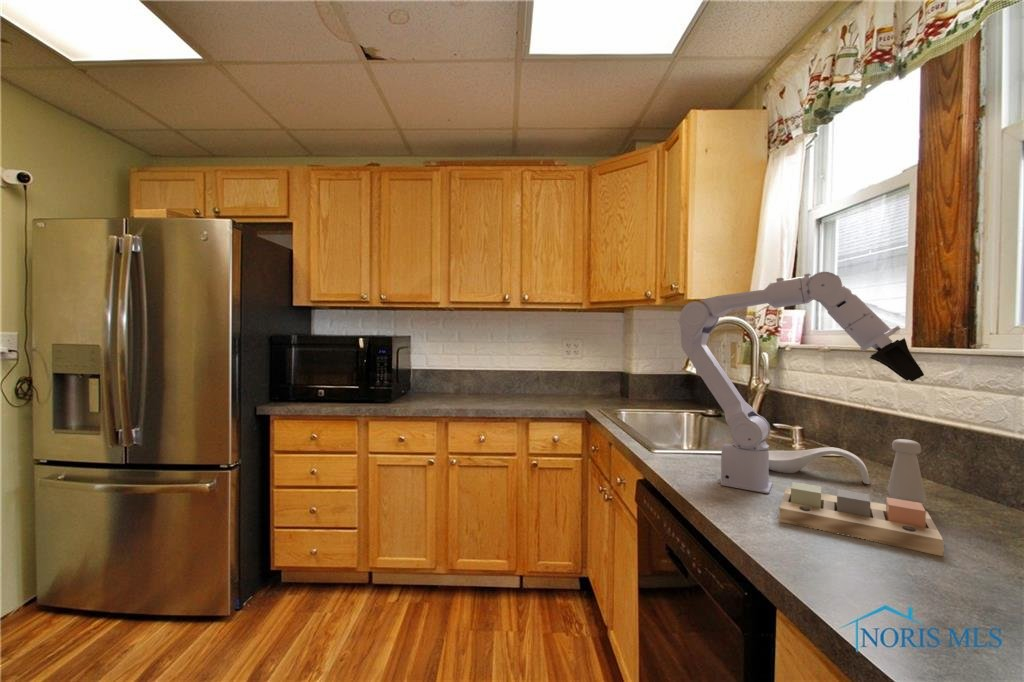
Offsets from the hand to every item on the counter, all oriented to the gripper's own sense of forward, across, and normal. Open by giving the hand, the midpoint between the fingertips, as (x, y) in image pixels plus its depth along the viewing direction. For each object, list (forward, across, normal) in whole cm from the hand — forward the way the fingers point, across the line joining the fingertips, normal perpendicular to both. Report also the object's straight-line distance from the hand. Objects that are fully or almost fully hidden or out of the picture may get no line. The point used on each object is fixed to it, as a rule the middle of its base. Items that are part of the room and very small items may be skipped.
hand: (915, 378), depth 82 cm
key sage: (+9, -9, +28) cm, 31 cm away
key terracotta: (+18, -9, +17) cm, 26 cm away
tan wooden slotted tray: (+15, -9, +24) cm, 29 cm away
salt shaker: (+20, +9, +16) cm, 27 cm away
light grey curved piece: (+10, +23, +29) cm, 39 cm away
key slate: (+14, -9, +22) cm, 28 cm away
